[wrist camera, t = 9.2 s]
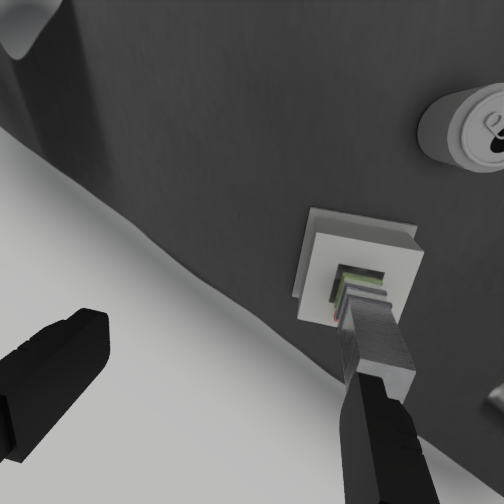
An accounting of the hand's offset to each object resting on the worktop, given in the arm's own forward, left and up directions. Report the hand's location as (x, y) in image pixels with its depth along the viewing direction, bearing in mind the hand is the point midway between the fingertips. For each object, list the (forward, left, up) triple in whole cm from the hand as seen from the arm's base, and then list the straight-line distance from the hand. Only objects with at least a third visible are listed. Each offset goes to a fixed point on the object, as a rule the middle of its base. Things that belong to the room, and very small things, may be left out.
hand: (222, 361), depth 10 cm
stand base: (+10, +10, -36) cm, 39 cm away
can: (-9, +17, -36) cm, 41 cm away
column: (+10, +10, -28) cm, 32 cm away
